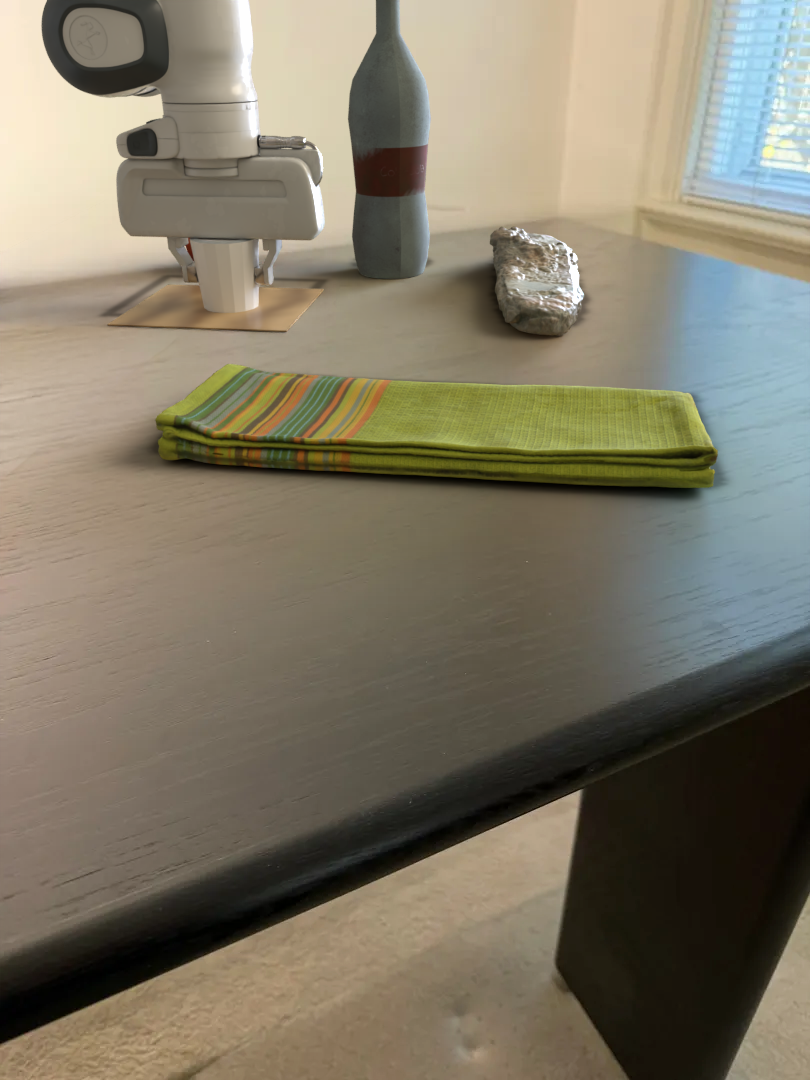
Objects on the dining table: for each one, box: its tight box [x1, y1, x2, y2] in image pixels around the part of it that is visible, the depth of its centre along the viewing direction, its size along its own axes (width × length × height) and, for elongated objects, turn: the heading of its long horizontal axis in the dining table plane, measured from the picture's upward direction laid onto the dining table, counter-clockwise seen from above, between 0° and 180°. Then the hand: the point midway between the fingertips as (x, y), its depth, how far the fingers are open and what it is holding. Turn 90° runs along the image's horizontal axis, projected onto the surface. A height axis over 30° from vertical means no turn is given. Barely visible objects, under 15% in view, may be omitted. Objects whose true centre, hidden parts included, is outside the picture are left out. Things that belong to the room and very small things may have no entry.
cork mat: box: [106, 283, 325, 333], centre depth 92 cm, size 18×16×1 cm
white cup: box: [190, 238, 260, 313], centre depth 90 cm, size 7×7×7 cm
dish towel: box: [154, 363, 719, 489], centre depth 62 cm, size 15×36×3 cm, turn 81°
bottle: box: [347, 0, 432, 280], centre depth 98 cm, size 9×9×30 cm
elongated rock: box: [489, 226, 585, 337], centre depth 96 cm, size 35×5×10 cm
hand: (229, 282), depth 91 cm, fingers open, 6 cm apart
